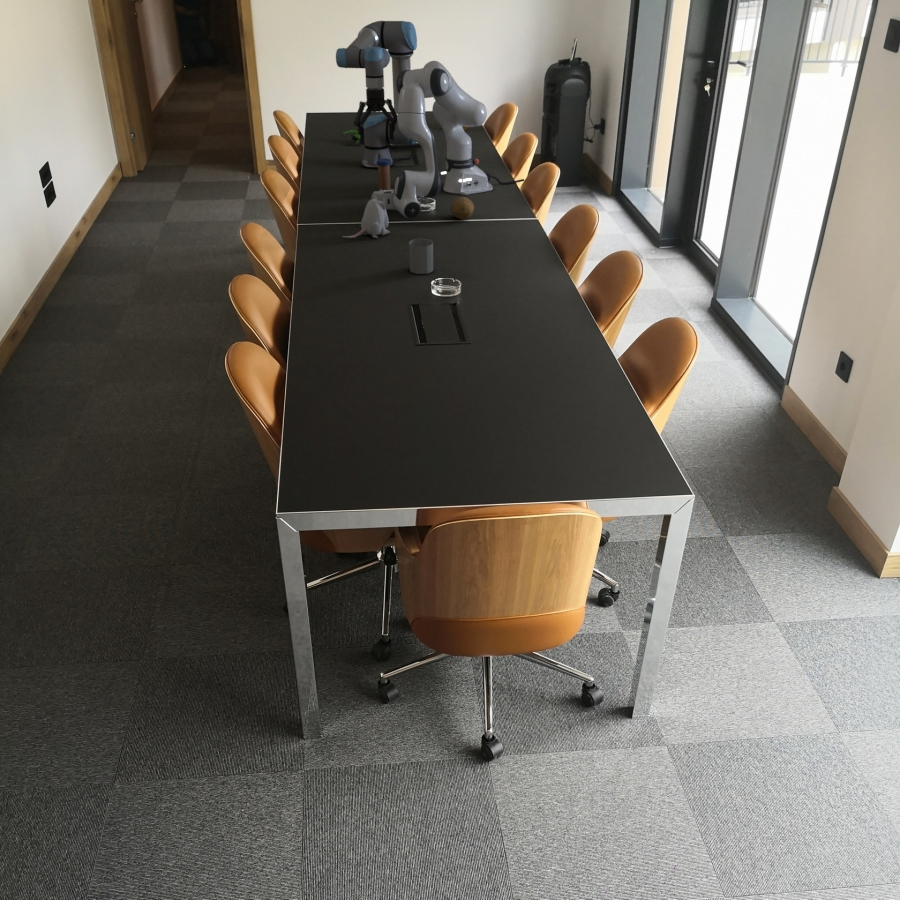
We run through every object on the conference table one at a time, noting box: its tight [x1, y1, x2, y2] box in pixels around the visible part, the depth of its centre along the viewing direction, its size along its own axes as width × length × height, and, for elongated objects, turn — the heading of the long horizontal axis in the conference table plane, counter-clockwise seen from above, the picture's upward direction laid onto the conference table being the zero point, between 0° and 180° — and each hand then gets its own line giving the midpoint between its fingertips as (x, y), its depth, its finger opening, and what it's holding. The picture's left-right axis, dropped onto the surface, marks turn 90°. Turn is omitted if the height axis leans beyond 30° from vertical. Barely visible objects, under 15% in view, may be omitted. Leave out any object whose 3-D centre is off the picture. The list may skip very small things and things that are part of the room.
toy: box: [341, 193, 391, 239], centre depth 332 cm, size 9×24×15 cm, turn 137°
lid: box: [377, 158, 391, 166], centre depth 375 cm, size 6×6×2 cm
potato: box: [450, 196, 475, 220], centre depth 355 cm, size 10×14×8 cm
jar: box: [377, 165, 392, 191], centre depth 379 cm, size 5×5×15 cm
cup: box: [408, 237, 434, 275], centre depth 305 cm, size 8×8×10 cm
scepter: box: [341, 129, 362, 146], centre depth 464 cm, size 6×13×30 cm
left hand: (377, 141), depth 371 cm, fingers open, 13 cm apart
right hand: (392, 190), depth 371 cm, fingers open, 8 cm apart
